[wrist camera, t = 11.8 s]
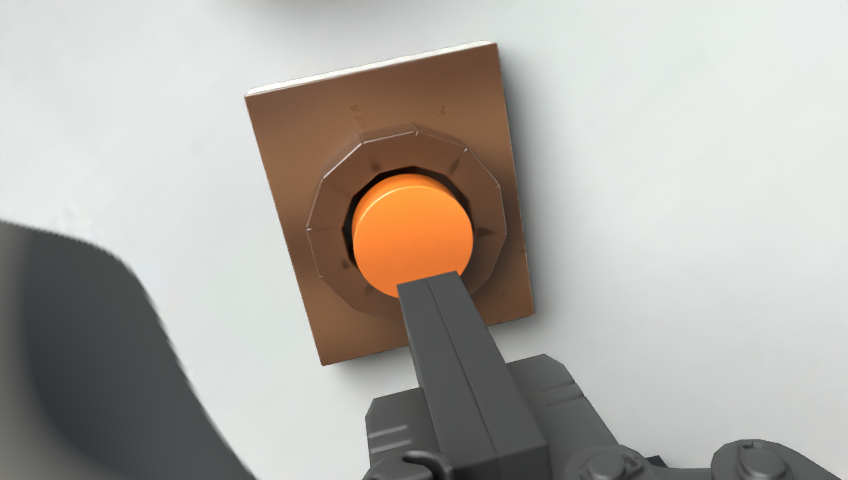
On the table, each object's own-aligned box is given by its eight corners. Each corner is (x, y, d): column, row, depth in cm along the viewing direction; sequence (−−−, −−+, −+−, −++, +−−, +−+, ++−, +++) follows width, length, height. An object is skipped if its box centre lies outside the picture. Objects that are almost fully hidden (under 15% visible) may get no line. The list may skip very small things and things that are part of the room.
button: (339, 187, 21) (340, 201, 20) (453, 162, 22) (463, 174, 20) (365, 290, 23) (368, 311, 21) (471, 265, 23) (481, 284, 21)
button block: (250, 88, 23) (235, 102, 19) (483, 39, 24) (511, 44, 20) (322, 340, 27) (321, 392, 23) (520, 293, 28) (549, 336, 24)
